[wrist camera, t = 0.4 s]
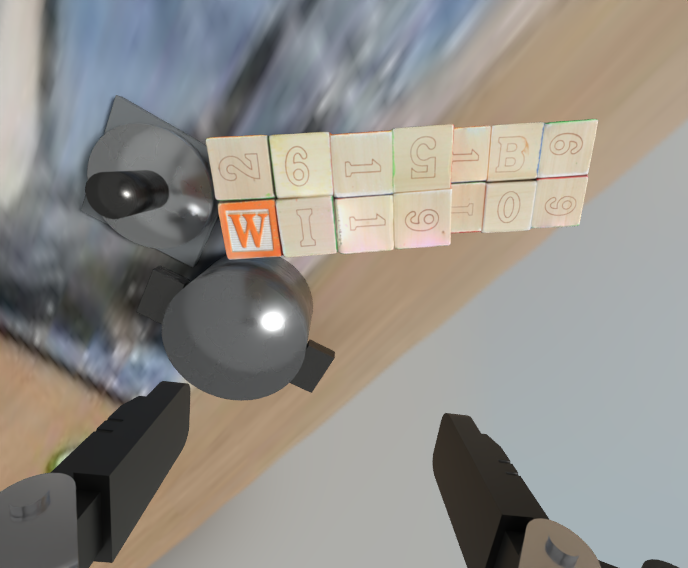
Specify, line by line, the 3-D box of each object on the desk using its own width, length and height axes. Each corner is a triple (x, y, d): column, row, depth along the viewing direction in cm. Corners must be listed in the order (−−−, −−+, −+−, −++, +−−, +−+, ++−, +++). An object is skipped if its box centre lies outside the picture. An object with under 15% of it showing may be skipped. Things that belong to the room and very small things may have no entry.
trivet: (122, 96, 26) (115, 95, 25) (240, 165, 28) (237, 165, 27) (87, 209, 29) (80, 211, 28) (196, 264, 31) (192, 267, 30)
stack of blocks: (518, 131, 27) (650, 110, 16) (509, 209, 29) (618, 240, 18) (259, 146, 27) (200, 135, 16) (269, 222, 30) (223, 261, 18)
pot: (202, 215, 29) (162, 231, 23) (353, 296, 32) (356, 331, 25) (160, 314, 32) (114, 353, 26) (300, 379, 35) (291, 429, 29)
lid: (118, 99, 25) (51, 80, 19) (234, 166, 27) (206, 167, 21) (83, 210, 28) (16, 223, 22) (191, 264, 30) (155, 289, 24)
